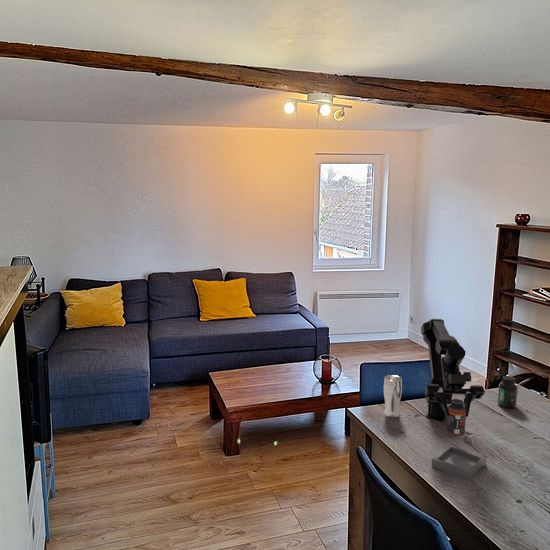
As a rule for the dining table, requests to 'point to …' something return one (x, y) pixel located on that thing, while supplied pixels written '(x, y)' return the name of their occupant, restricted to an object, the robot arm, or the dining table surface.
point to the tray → (459, 462)
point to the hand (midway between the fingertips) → (457, 416)
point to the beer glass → (392, 395)
